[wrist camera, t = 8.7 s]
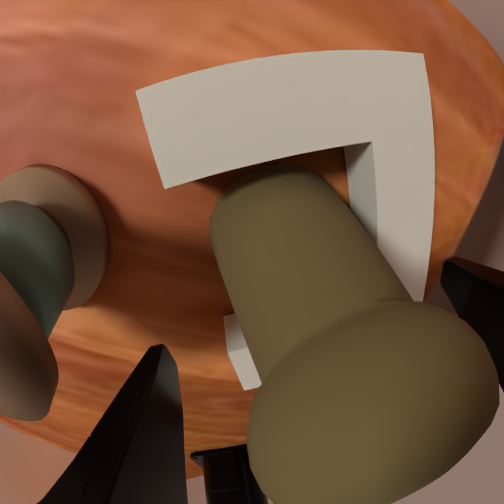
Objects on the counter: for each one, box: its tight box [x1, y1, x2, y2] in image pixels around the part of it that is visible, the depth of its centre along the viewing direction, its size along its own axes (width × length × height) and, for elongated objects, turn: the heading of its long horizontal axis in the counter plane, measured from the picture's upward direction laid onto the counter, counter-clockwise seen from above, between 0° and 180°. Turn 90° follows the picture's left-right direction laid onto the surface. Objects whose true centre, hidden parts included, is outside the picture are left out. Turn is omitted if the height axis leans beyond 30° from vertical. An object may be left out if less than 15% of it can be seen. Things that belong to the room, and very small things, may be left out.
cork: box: [209, 163, 499, 504], centre depth 8 cm, size 6×6×11 cm
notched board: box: [136, 50, 435, 390], centre depth 12 cm, size 14×10×2 cm
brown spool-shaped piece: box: [0, 164, 110, 421], centre depth 8 cm, size 7×7×8 cm
